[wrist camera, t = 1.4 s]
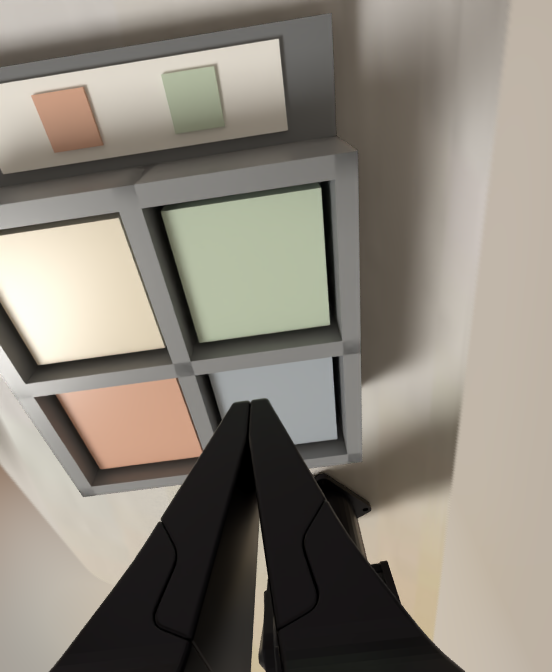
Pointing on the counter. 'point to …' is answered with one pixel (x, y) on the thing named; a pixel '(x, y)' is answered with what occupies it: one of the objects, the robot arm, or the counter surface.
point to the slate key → (286, 395)
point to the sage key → (251, 261)
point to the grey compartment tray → (176, 187)
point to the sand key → (76, 290)
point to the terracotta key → (134, 423)
